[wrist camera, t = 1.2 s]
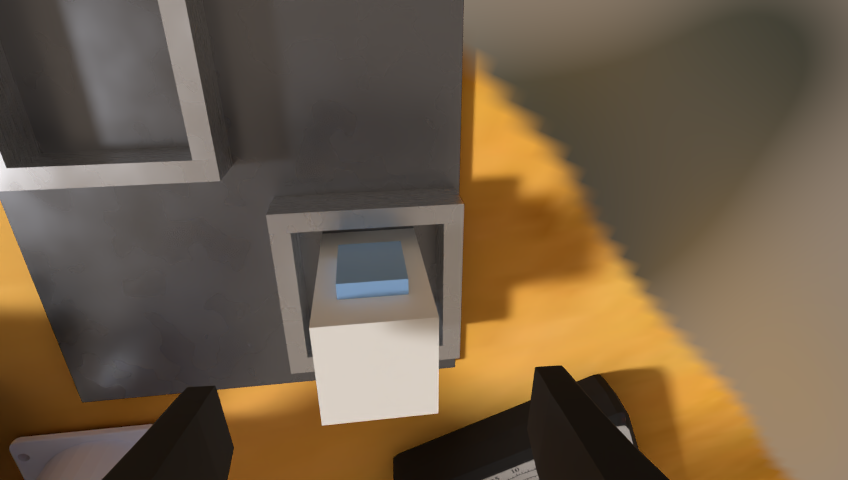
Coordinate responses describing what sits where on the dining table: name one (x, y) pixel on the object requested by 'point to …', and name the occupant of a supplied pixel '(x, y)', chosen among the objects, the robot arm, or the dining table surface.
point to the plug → (374, 328)
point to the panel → (221, 173)
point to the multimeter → (497, 444)
